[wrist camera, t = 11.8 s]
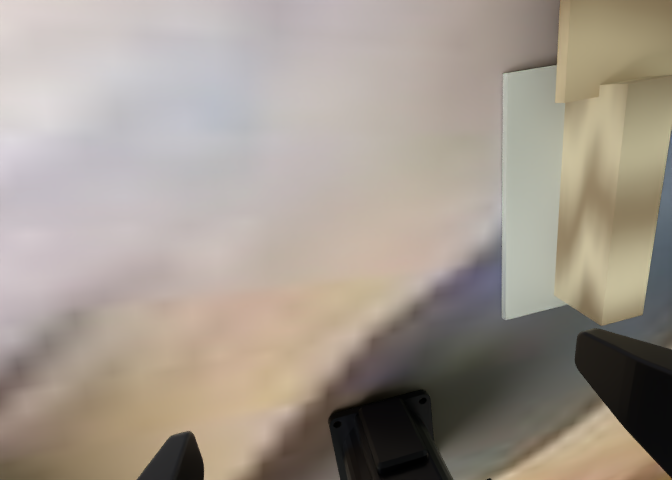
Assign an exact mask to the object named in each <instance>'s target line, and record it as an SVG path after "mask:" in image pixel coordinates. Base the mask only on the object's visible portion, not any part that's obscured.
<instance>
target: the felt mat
mask: <svg viewBox="0 0 672 480" xmlns="http://www.w3.org/2000/svg"><path fill="white" fill-rule="evenodd" d="M556 73H557V65H552V66H546V67H540V68H534V69H528V70H522V71H516V72H510V73H504V74H503V137H502V318H504V319H505V320H509V319H512V318H516V317H520V316H524V315H528V314H532V313H536V312H540V311H544V310H548V309H552V308H556V307H560V306H564V305H567V303H565V302H563V301H562V300H560V299H559V298H557V297H556V296H554V287H555V270H556V253H557V236H558V218H559V201H560V184H561V167H562V150H563V132H564V115H565V103H555V93H556Z"/></svg>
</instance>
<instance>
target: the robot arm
mask: <svg viewBox="0 0 672 480" xmlns="http://www.w3.org/2000/svg"><path fill="white" fill-rule="evenodd" d="M575 364H576V366H577V368H578V370H579V372H580V373H581V374H582V375H583V377H584V378H585V379H586V380H587V382H588V383H589V384H590V385H591V387H592V388H593V389H594V390H595V392H596V393H597V394H598V396H599V397H600V398H601V399H602V401H603V402H604V403H605V404H606V406H607V407H608V408H609V409H610V411H611V412H612V413H613V414H614V416H615V417H616V418H617V419H618V421H619V422H620V423H621V424H622V425H623V427H624V428H625V429H626V430H627V431H628V432H629V433H630V434H631V435H632V437H633V438H634V439H635V440H636V441H637V442H638V443H639V444H640V445H641V446H642V447H643V448H644V449H645V450H646V451H647V453H648V454H649V455H650V456H651V457H652V458H653V459H654V460H655V461H656V462H657V463H658V464H659V465H660V466H661V467H662V468H663V470H664V471H665V472H666V473H667V474H668V475H669V476H670V477H671V478H672V350H671V349H668V348H664V347H661V346H657V345H654V344H650V343H647V342H643V341H640V340H636V339H633V338H629V337H626V336H622V335H619V334H615V333H612V332H608V331H605V330H602V329H597V328H594V329H590V330H586V331H582V332H580V333H579V334H578V336H577V343H576V352H575ZM421 398H423V399H421ZM420 399H421V400H420ZM336 421H339V422H337V423H335V422H336ZM328 422H329V427H330V432H331V437H332V442H333V446H334V451H335V456H336V461H337V466H338V471H339V475H340V480H453V478H452V476H451V474H450V472H449V470H448V468H447V466H446V464H445V462H444V460H443V459H442V457H441V455H440V453H439V451H438V449H437V447H436V445H435V443H434V438H433V426H432V413H431V401H430V397H429V395H428V393H427V392H426V391H424V390H419V391H415V392H412V393H408V394H404V395H401V396H397V397H393V398H390V399H386V400H382V401H379V402H375V403H371V404H368V405H364V406H360V407H357V408H353V409H349V410H345V411H342V412H338V413H335V414H332V415H331V416H330V417H329V419H328ZM137 480H204V465H203V459H202V456H201V453H200V450H199V448H198V445H197V442H196V439H195V436H194V434H193V433H192V432H190V431H187V432H183V433H179V434H175V435H172V436H171V437H169V438H168V440H167V441H166V442H165V444H164V445H163V446H162V447H161V449H160V450H159V451H158V453H157V454H156V455H155V457H154V458H153V459H152V460H151V462H150V463H149V464H148V466H147V467H146V468H145V470H144V471H143V472H142V473H141V475H140V476H139V477H138V479H137ZM487 480H491V479H490V478H489V479H487Z"/></svg>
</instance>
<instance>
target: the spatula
mask: <svg viewBox="0 0 672 480" xmlns="http://www.w3.org/2000/svg"><path fill="white" fill-rule="evenodd" d="M555 103H565V115H564V132H563V150H562V167H561V184H560V201H559V218H558V236H557V253H556V270H555V287H554V296H556V297H557V298H559V299H560V300H562V301H563V302H565V303H567V304H568V305H570V306H571V307H573V308H574V309H576V310H577V311H579V312H581V313H582V314H584V315H585V316H587V317H588V318H590V319H591V320H593V321H595V322H596V323H598V324H599V325H601V326H603V325H607V324H610V323H614V322H618V321H622V320H625V319H629V318H633V317H636V316H640V315H643V308H644V302H645V296H646V289H647V283H648V276H649V270H650V263H651V257H652V250H653V244H654V238H655V231H656V225H657V218H658V212H659V205H660V199H661V193H662V186H663V180H664V173H665V167H666V160H667V154H668V147H669V141H670V135H671V128H672V0H560V12H559V32H558V52H557V73H556V93H555Z"/></svg>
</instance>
